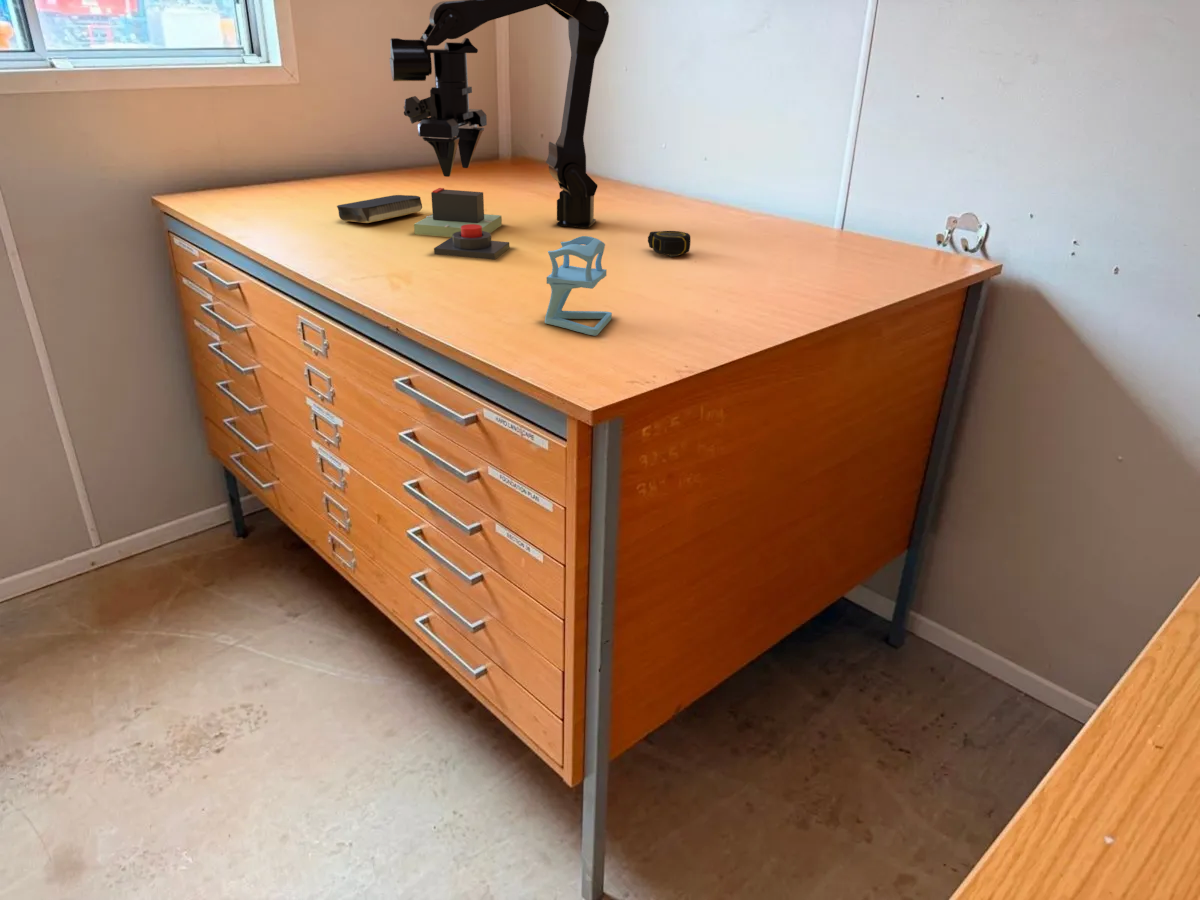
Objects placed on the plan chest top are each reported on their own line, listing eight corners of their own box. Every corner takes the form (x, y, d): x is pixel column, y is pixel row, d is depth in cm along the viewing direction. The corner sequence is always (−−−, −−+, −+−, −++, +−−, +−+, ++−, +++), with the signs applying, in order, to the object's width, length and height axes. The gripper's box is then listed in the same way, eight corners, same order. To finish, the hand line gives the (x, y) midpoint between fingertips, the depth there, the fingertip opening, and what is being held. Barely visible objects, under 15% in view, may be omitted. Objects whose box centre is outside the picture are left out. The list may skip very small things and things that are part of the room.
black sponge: (363, 228, 165) (361, 209, 164) (334, 221, 170) (332, 202, 168) (427, 214, 177) (425, 196, 175) (398, 208, 182) (397, 190, 180)
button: (485, 235, 153) (484, 225, 152) (477, 239, 150) (477, 229, 149) (465, 233, 153) (465, 223, 153) (458, 238, 150) (457, 228, 150)
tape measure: (683, 248, 158) (685, 228, 156) (694, 258, 152) (695, 237, 150) (647, 249, 157) (648, 228, 155) (656, 259, 151) (657, 238, 149)
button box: (509, 248, 155) (509, 231, 154) (494, 260, 148) (494, 242, 147) (451, 243, 157) (450, 227, 156) (434, 254, 150) (433, 237, 149)
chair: (557, 311, 125) (556, 227, 119) (612, 318, 123) (615, 233, 117) (538, 329, 118) (537, 241, 113) (596, 336, 116) (598, 247, 111)
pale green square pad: (503, 225, 171) (503, 213, 170) (479, 241, 159) (479, 229, 158) (440, 219, 173) (439, 208, 172) (412, 235, 162) (411, 223, 161)
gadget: (484, 219, 166) (483, 190, 164) (477, 223, 163) (476, 194, 161) (440, 215, 168) (438, 187, 165) (432, 219, 165) (431, 191, 162)
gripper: (429, 75, 164) (435, 161, 171) (386, 83, 148) (394, 178, 155) (485, 77, 162) (489, 164, 169) (447, 86, 146) (453, 182, 153)
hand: (456, 172), depth 161 cm, fingers open, 9 cm apart
